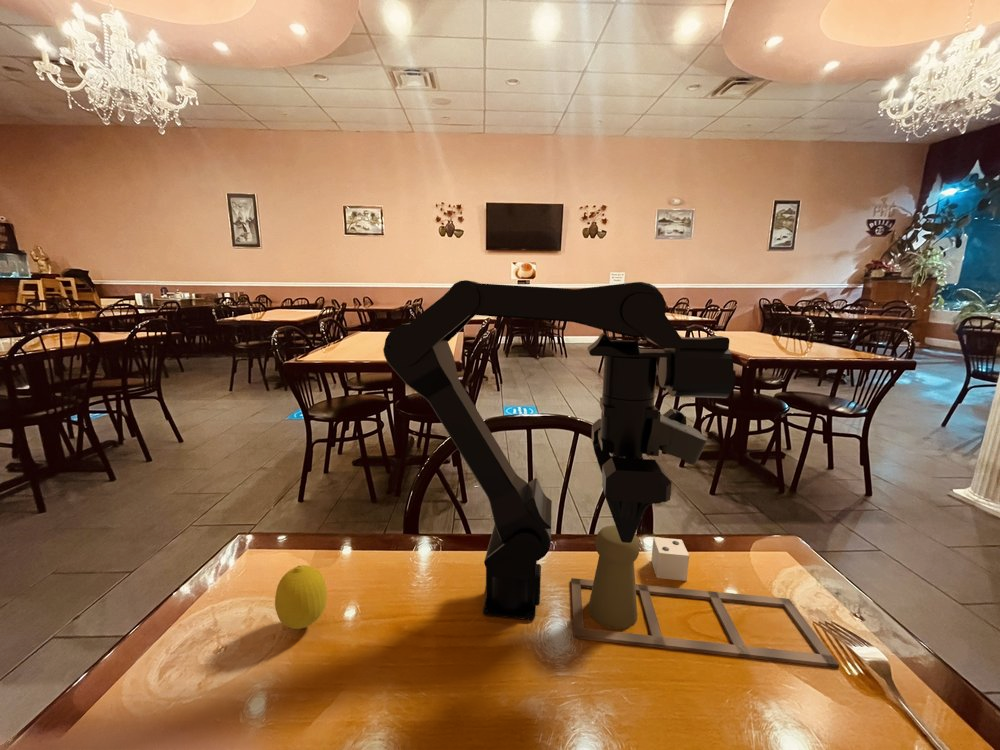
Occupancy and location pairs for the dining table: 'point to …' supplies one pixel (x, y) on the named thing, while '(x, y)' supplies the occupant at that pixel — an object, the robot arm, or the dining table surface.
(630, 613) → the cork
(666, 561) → the die
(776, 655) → the three-pane window frame
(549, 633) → the dining table surface
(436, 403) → the robot arm
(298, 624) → the lemon
